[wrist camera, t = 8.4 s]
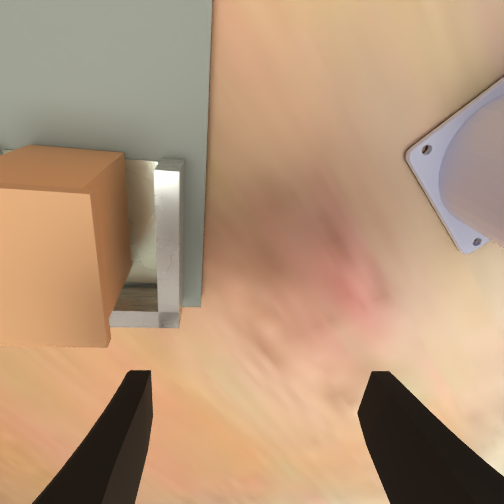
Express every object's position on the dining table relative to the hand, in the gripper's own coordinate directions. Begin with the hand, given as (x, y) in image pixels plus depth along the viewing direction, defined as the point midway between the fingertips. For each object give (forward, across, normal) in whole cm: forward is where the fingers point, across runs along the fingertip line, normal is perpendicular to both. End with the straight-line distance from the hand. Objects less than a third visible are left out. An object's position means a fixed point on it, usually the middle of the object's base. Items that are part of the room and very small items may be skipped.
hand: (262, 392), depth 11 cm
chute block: (+8, +8, -3) cm, 12 cm away
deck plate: (+10, +8, -5) cm, 14 cm away
